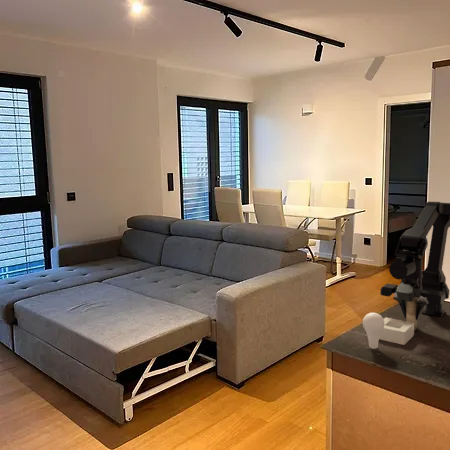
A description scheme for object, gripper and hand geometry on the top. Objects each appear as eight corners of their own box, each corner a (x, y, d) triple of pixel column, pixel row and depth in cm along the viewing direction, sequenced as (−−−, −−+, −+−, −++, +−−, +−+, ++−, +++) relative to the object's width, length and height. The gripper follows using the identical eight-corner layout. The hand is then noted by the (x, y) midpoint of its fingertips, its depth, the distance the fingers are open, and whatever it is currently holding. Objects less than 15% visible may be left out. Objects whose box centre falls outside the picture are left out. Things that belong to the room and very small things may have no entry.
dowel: (407, 325, 150) (408, 296, 149) (417, 327, 148) (418, 297, 147) (404, 328, 148) (405, 298, 146) (414, 330, 146) (415, 300, 144)
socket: (385, 329, 148) (385, 317, 147) (413, 335, 142) (414, 322, 142) (374, 338, 141) (374, 326, 141) (404, 344, 135) (404, 332, 135)
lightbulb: (385, 353, 130) (386, 317, 129) (363, 352, 132) (363, 316, 130) (382, 344, 136) (383, 309, 134) (361, 344, 137) (361, 309, 136)
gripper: (374, 274, 145) (373, 320, 147) (436, 282, 133) (434, 333, 136) (386, 266, 153) (386, 310, 156) (446, 274, 142) (444, 321, 144)
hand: (411, 318), depth 148 cm, fingers closed on dowel, 3 cm apart
